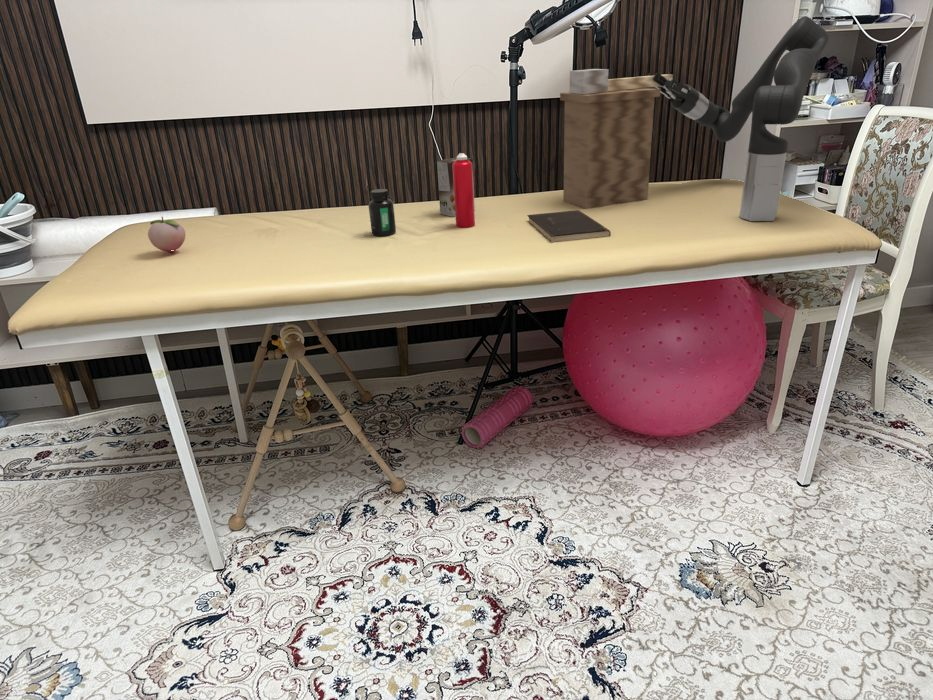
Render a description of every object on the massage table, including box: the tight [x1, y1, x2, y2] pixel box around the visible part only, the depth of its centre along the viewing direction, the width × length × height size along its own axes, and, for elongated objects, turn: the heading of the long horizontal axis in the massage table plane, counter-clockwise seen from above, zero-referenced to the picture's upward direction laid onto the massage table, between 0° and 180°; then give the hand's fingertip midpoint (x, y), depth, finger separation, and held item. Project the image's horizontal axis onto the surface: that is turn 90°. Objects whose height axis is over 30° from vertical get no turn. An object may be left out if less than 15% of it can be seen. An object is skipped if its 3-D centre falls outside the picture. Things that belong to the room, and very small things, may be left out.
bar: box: [569, 68, 674, 94], centre depth 186 cm, size 32×8×6 cm, turn 111°
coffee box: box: [436, 157, 476, 218], centre depth 192 cm, size 9×6×16 cm
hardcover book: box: [527, 209, 611, 243], centre depth 172 cm, size 16×23×2 cm
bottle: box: [452, 152, 476, 229], centre depth 177 cm, size 5×5×20 cm
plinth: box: [559, 87, 661, 210], centre depth 193 cm, size 24×16×32 cm, turn 111°
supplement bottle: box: [368, 188, 397, 238], centre depth 175 cm, size 7×7×12 cm
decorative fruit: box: [147, 216, 186, 254], centre depth 169 cm, size 9×8×10 cm
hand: (651, 76), depth 189 cm, fingers closed on bar, 3 cm apart
